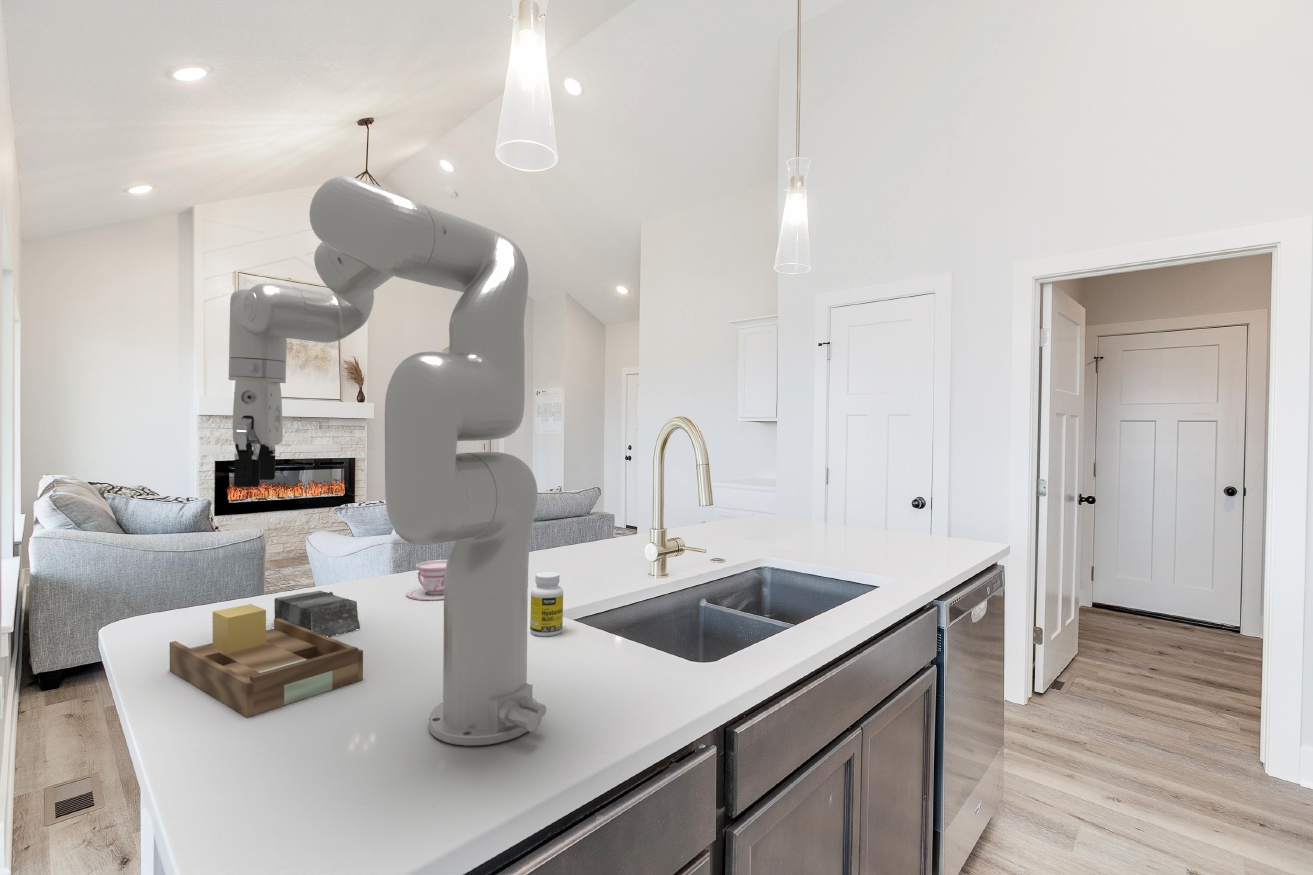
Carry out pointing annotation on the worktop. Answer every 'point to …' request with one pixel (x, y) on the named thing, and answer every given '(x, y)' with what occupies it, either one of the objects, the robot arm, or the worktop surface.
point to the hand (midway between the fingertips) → (255, 482)
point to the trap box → (269, 668)
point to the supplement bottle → (546, 605)
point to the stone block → (318, 612)
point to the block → (239, 628)
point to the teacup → (429, 580)
